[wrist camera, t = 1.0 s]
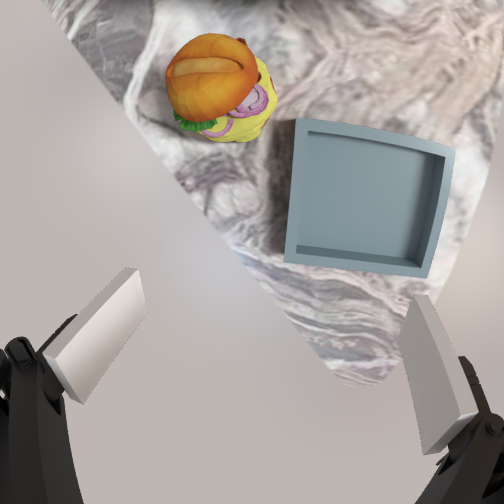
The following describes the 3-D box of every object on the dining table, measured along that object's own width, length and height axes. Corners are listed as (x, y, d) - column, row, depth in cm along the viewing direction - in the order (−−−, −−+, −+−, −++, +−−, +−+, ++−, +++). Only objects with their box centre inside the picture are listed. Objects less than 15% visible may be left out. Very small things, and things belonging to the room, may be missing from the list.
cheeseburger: (213, 162, 31) (163, 152, 22) (183, 88, 30) (133, 61, 21) (296, 124, 28) (277, 93, 18) (258, 49, 27) (227, 4, 17)
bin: (296, 118, 28) (295, 117, 25) (443, 146, 25) (455, 148, 23) (285, 250, 34) (283, 262, 31) (418, 266, 32) (426, 278, 29)
